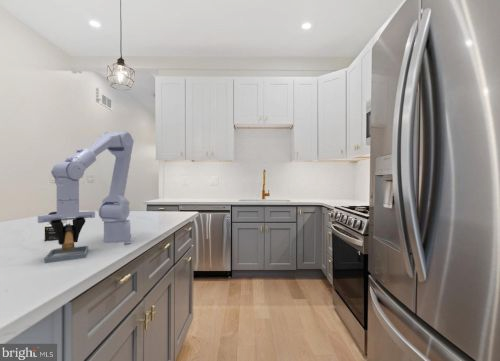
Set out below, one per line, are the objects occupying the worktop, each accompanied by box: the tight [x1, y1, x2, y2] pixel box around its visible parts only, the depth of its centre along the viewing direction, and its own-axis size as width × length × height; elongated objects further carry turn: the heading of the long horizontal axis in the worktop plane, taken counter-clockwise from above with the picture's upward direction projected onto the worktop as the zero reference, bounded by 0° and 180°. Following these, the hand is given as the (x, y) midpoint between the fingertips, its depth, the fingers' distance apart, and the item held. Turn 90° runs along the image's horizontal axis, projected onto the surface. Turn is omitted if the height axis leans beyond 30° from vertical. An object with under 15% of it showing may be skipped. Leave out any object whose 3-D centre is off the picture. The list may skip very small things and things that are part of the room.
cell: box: [61, 223, 75, 251], centre depth 79 cm, size 3×3×8 cm
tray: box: [44, 245, 89, 264], centre depth 79 cm, size 10×10×2 cm
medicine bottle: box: [44, 211, 71, 242], centre depth 101 cm, size 7×7×12 cm
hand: (68, 242), depth 79 cm, fingers closed on cell, 3 cm apart
